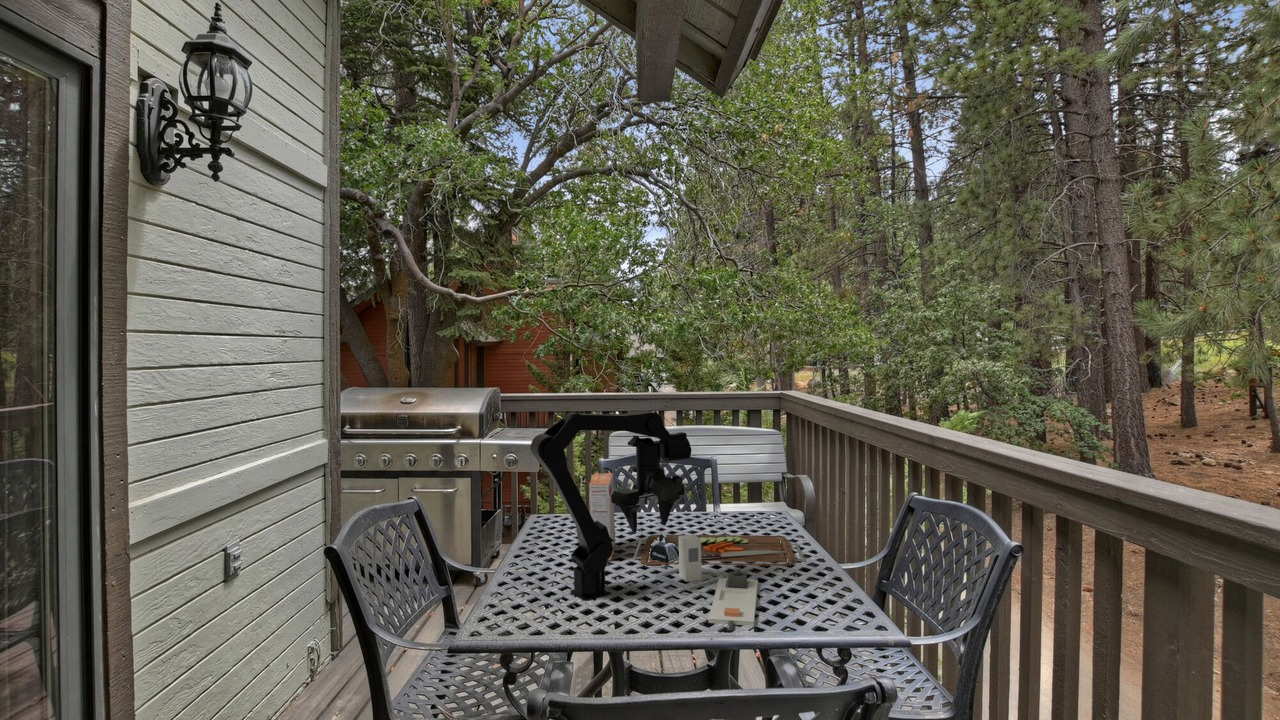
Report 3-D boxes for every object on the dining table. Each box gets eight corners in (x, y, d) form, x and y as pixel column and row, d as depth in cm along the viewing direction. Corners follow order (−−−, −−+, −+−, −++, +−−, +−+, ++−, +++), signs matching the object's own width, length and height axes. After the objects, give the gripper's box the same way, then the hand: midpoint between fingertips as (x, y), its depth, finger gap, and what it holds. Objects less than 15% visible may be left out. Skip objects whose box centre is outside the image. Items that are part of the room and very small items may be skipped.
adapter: (686, 583, 159) (685, 541, 159) (679, 576, 164) (678, 535, 163) (701, 581, 160) (701, 539, 160) (694, 574, 165) (693, 534, 165)
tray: (689, 593, 153) (689, 587, 153) (655, 580, 163) (655, 574, 163) (726, 581, 161) (725, 575, 161) (691, 569, 170) (691, 563, 170)
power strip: (753, 636, 131) (753, 623, 131) (707, 632, 133) (706, 620, 132) (757, 586, 157) (757, 576, 157) (719, 584, 159) (719, 574, 159)
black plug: (746, 591, 152) (745, 573, 152) (728, 590, 153) (728, 572, 153) (746, 585, 156) (746, 567, 156) (729, 584, 157) (729, 567, 157)
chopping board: (794, 540, 195) (794, 529, 195) (808, 571, 169) (808, 559, 169) (640, 538, 200) (640, 528, 200) (630, 568, 173) (630, 556, 173)
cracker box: (594, 546, 191) (593, 472, 191) (615, 545, 191) (614, 472, 191) (589, 561, 177) (587, 483, 177) (612, 561, 177) (610, 482, 177)
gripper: (639, 473, 148) (640, 544, 149) (700, 463, 160) (701, 528, 160) (609, 467, 157) (610, 533, 157) (668, 457, 169) (670, 519, 169)
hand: (649, 528), depth 161 cm, fingers open, 9 cm apart
